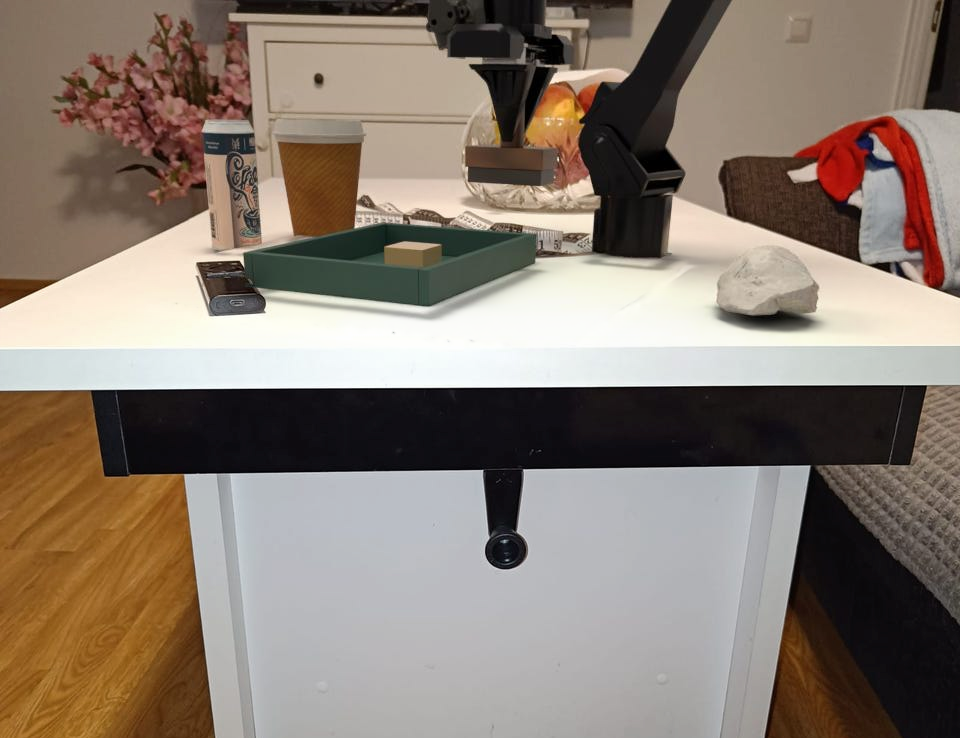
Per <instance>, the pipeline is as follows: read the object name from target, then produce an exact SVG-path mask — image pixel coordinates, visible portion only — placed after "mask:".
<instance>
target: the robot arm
mask: <svg viewBox="0 0 960 738" xmlns="http://www.w3.org/2000/svg"><path fill="white" fill-rule="evenodd" d="M732 1H733V0H669V3H668V4H667V6H666V8H665V10H664V12H663V14H662V15H661V17H660V19H659V20H658V23H657V24H656V26H655V28H654V31H653V33H652V34H651V37H650V38H649V40H648V42H647V44H646V45H645V48H644V49H643V50H642V53H641V55H640V57H639V58H638V60H637V63H636V64H635V66H634V68H633V69H632V70H631V72H630V73H629V74H628V75H627V76H626V77H625V78H624V79H623V80H622V81H621V82H618V81H601V82H600V84H599V85H598V87H597V88H596V90H595V94H594V96H593V99H592V102H591V104H590V107H589V108H588V110H587V112H586V113H585V114H584V115H582V117H581V118H580V119H579V120H578V123H579V124H580V125H583V126H582V128H581V131H580V133H579V135H578V140H577V141H578V142H577V147H578V149H579V154H580V158H581V161H582V163H583V165H584V167H585V168H586V169H587V171H588V173H589V179H590V182H591V186H592V191H593V194H594V195H595V196H596V197H600V201H599V202H600V203H599V207H597V208H596V209H594V211H593V226H592V242H591V252H592V253H597V254H604V255H607V256H612V257H617V258H618V257H619V258H632V259H649V258H650V259H651V258H652V259H661V258H663V257H664V256H666V255H670V256H672V255H673V254H672V252H669V242H670V241H669V240H670V232H671V231H670V230H671V221H672V220H671V219H672V210H673V200H674V199H673V198H674V194H677V193H679V191H680V188H681V186H682V185H683V181H684V178H685V177H686V174H687V173H686V170H685V169H684V168H683V166H682V164H680V162H679V161H678V160H677V159H676V157H675V156H674V155H673V153H672V152H671V151H670V149H669V148H668V147H667V143H668V141H669V138H670V136H671V133H672V131H673V128H674V124H675V119H676V112H677V106H678V100H679V96H680V93H681V90H682V89H683V87H684V85H685V83H686V81H687V80H688V78H689V76H691V73H692V71H693V70H694V68H695V66H696V65H697V62H698V61H699V59H700V57H701V55H702V54H703V52H704V50H705V49H706V47H707V45H708V43H709V42H710V40H711V38H712V36H713V34H714V32H715V31H716V29H717V27H718V26H719V24H720V22H721V20H722V18H723V17H724V16H725V13H726V12H727V10H728V8H729V6H730V4H731V3H732ZM546 15H547V0H458V1H456V0H429V1H428V11H427V14H426V19H427V23H426V26H425V29H426V31H427V32H428V33H432V34H433V35H434V38H435V40H436V41H435V42H436V44H437V48H438V50H439V51H444V50H446V51H447V52H446V55H447V58H449V59H459V60H465V59H466V58H470V59H479V58H480V59H481V63H469V64H468V67H469V68H470V70H472V71H474V72H475V73H476V74H477V75H478V76H479V77H480V78H481V79H482V80H483V82H485V84H486V86H487V89H488V92H489V96H490V99H491V103H492V107H493V111H494V116H495V119H496V123H497V127H498V132H499V137H500V136H501V140H502V141H503V142H512V141H513V139H514V136H515V133H516V130H517V127H518V124H519V121H520V118H521V114H522V111H523V108H524V104H525V124H524V138H525V137H526V134H527V132H528V130H529V128H530V126H531V123H532V121H533V119H534V117H535V114H536V112H537V110H538V108H539V106H540V104H541V103H542V102H541V101H542V99H543V97H544V96H545V93H546V92H547V89H548V88H549V85H550V84H551V81H552V79H554V75H555V74H558V71H559V68H558V67H556V66H574V60H575V45H574V43H573V42H572V41H571V40H570V39H569V37H568V36H566V35H561V34H555V33H553V27H552V26H547V25H546V21H547V19H546V18H547V17H546ZM553 66H555V67H553Z"/></svg>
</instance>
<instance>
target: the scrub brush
mask: <svg viewBox="0 0 960 738" xmlns="http://www.w3.org/2000/svg"><path fill="white" fill-rule="evenodd" d="M524 124H525V104H524V108H523V111H522V114H521V118H520V121H519V124H518V127H517V130H516V133H515V136H514V139H513V141H512V142H503V141H502V140H501V136H500V135H499V144H473V145H466V146H465V150H464V151H465V156H464V157H465V158H464V159H465V160H464V167H465V168H467V182H468V183H478V184H494V185H510V186H511V185H513V186H527V187H544V186H548V185H552V184H554V183H555V169H557V168H558V156H559V148H558V147H552V146H529V145H525V137H524Z"/></svg>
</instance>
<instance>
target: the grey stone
mask: <svg viewBox="0 0 960 738" xmlns="http://www.w3.org/2000/svg"><path fill="white" fill-rule="evenodd" d="M716 286H717V288H716V289H717V293H716V304H717V305H718V306H719V307H720V308H722V309H723V311H726V312H729V313H734V314H742V315H747V316H753V317H756V316H758V317H760V316H771V315H778V312H783V313H787V314H793V315H804V314H812V313H813V314H814V313H816V311H817V309H818V305H817V304H818V302H819V294H818V293H819V292H820V285H819V284H818V283H817V281H816V280H815V278H813V276H812V274H811V272H810V271H809V270H808V268H807V267H806V265H805V263H803V261H802V260H801V259H800V258H799V257H798V256H797V255H796V254H795V253H793V252H792V251H791V250H790V249H788V248H786V247H783V246H779V245H773V244H771V245H761V246H757V247H755V248H752V249H750V250H748V251H746V252H745V253H743V254H742V255H741V256H739V257H738V258H736V260H734V261H733V262H731V264H730V265H729V266H728V268H726V269H725V270H724V271H723V272H722V273H721V274H720V276H719V278H718V279H717V282H716Z"/></svg>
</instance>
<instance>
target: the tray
mask: <svg viewBox="0 0 960 738" xmlns="http://www.w3.org/2000/svg"><path fill="white" fill-rule="evenodd" d="M404 241H406V242H418V243H430V244H441V245H442V262H440V263H437V264H434V265H431V266H428V267H425V268H422V267H412V266H402V265H391V264H385V255H384V247H385V246H389V245H393V244H396V243H400V242H404ZM536 254H537V233H531V232H529V233H528V232H516V231H505V230H503V231H502V230H492V229H490V230H489V229H487V230H486V229H478V228H477V229H476V228H464V227H450V226H436V225H424V224H423V225H422V224H411V223H398V222H384V221H381V222H377V223H373V224H369V225H368V224H367V225H364V226H360V227H355V228H354V229H349V230H345V231H340V232H336V233H331V234H326V235H322V236H317V237H313V236H312V237H308V238H304V239H299V240H295V241H290V242H285V243H282V244H275V245H271V246H267V247H262V248H258V249H252V250H249V251H244V252H243V253H242V255H243V256H242V257H243V268H244V279H245V278H247V279H250V280H251V281H252V283H253V284H249V283H245V284H244V285H245V287H248V288H255V289H256V288H257V289H263V290H265V289H266V290H274V291H284V292H292V293H300V294H301V293H302V294H308V295H309V294H310V295H320V296H326V297H327V296H329V297H335V298H336V297H337V298H345V299H355V300H363V301H364V300H365V301H371V302H372V301H373V302H380V303H381V302H382V303H392V304H399V305H409V306H417V307H427V308H429V307H430V308H431V307H432V306H435V305H437V304H439V303H443V302H444V301H446V300H449V299H452V298H454V297H456V296H458V295H462V294H463V293H466V292H468V291H471V290H473V289H476V288H479V287H481V286H483V285H486V284H488V283H490V282H492V281H496V280H498V279H500V278H503V277H505V276H507V275H510V274H512V273H515V272H517V271H519V270H522V269H524V268H526V267H529V266H532V265H535V264H536Z"/></svg>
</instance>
